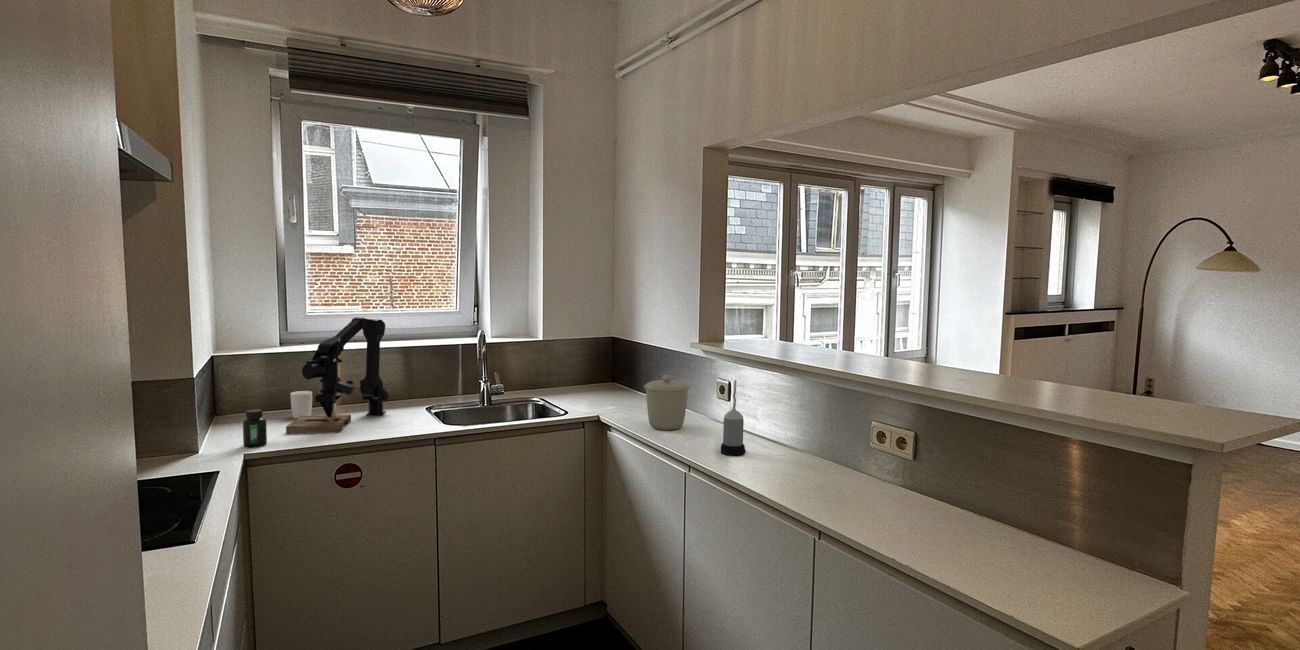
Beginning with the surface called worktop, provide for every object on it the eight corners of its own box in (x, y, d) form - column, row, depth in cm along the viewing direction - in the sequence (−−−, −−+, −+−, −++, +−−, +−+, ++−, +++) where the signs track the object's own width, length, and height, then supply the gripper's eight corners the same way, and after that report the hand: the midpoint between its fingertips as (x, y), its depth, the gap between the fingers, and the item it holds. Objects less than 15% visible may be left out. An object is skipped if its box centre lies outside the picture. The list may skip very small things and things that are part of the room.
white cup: (291, 415, 267) (290, 391, 267) (312, 414, 271) (312, 390, 270) (290, 419, 260) (290, 395, 260) (313, 418, 264) (312, 393, 263)
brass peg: (326, 425, 251) (325, 402, 251) (338, 425, 252) (338, 401, 252) (323, 428, 247) (322, 404, 246) (335, 428, 248) (335, 404, 247)
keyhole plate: (301, 422, 256) (301, 415, 255) (350, 421, 259) (350, 414, 259) (286, 434, 238) (285, 426, 238) (339, 432, 242) (339, 424, 242)
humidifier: (750, 454, 221) (752, 381, 219) (731, 457, 217) (733, 383, 215) (734, 448, 228) (736, 377, 226) (715, 451, 224) (717, 379, 221)
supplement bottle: (257, 448, 219) (256, 413, 218) (238, 447, 219) (237, 412, 218) (271, 443, 226) (270, 409, 225) (253, 442, 226) (251, 408, 225)
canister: (638, 423, 264) (639, 371, 262) (681, 421, 269) (682, 370, 267) (650, 434, 246) (651, 378, 245) (695, 431, 251) (696, 377, 250)
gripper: (346, 379, 241) (347, 420, 242) (358, 371, 259) (359, 410, 260) (313, 379, 238) (314, 421, 240) (327, 371, 256) (328, 411, 258)
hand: (330, 416), depth 249 cm, fingers closed on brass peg, 3 cm apart
